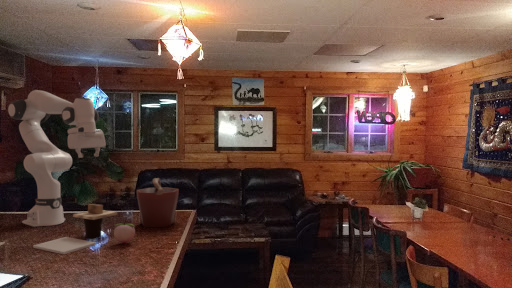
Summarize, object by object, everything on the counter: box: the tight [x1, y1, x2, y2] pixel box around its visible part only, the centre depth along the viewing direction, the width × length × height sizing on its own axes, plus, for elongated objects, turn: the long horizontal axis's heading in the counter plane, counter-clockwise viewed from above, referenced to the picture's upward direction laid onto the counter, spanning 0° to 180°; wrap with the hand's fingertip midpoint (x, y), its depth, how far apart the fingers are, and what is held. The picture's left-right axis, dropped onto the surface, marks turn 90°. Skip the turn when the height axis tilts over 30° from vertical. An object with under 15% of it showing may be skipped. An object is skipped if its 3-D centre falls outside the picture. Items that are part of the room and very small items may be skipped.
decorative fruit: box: [113, 221, 136, 244], centre depth 175 cm, size 9×8×10 cm
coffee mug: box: [83, 218, 104, 240], centre depth 188 cm, size 12×9×10 cm
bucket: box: [136, 177, 180, 228], centre depth 214 cm, size 24×22×25 cm
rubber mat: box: [32, 236, 97, 255], centre depth 171 cm, size 20×16×1 cm
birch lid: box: [72, 203, 118, 220], centre depth 188 cm, size 14×14×5 cm
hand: (88, 157), depth 195 cm, fingers open, 8 cm apart
